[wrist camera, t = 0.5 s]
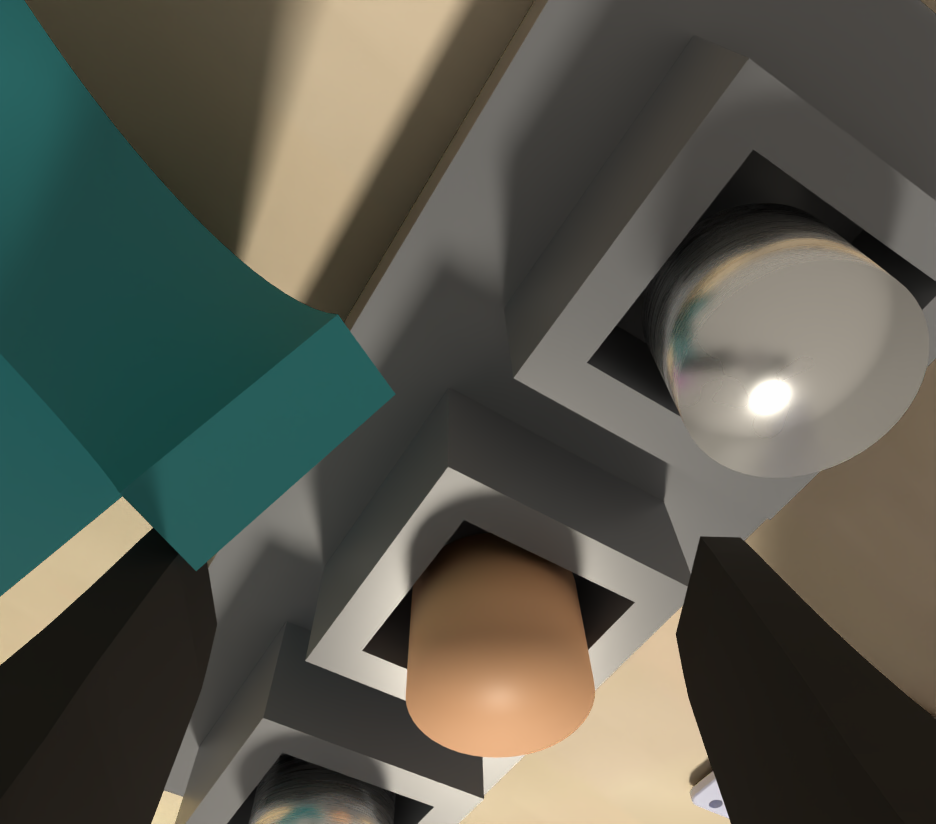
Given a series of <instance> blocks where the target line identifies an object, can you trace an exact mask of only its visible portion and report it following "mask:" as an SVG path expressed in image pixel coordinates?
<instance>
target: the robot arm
mask: <svg viewBox="0 0 936 824" xmlns="http://www.w3.org/2000/svg"><path fill="white" fill-rule="evenodd" d="M216 628H217V619H216V613H215V607H214V601H213V594H212V588H211V582H210V576H209V570H208V563H207V562H206V563H205V564H204V565H203V566H202V567H200V568H199V569H198V570H197V571H195V570H194V569H193V568H192V567H191V565H190V564H189V563H188V562H187V561H186V560H185V559H184V558H183V557H182V556H181V555H180V554H179V553H178V552H177V551H176V550H175V549H174V548H173V547H172V546H171V545H170V544H169V543H168V542H167V541H166V540H165V539H164V538H163V537H162V536H161V535H160V534H159V533H158V532H157V531H156V530H155V529H154V528H153V529H151V530H150V531H149V532H148V533H147V534H146V535H145V536H144V537H143V538H142V539H140V540H139V541H138V542H137V543H136V544H135V545H134V546H133V547H132V548H131V549H130V550H129V551H128V552H127V553H126V554H125V555H124V556H123V557H122V558H120V559H119V560H118V561H117V562H116V563H115V564H114V565H113V566H112V567H111V568H110V569H109V570H108V571H107V572H106V573H105V574H104V575H103V576H101V577H100V578H99V579H98V580H97V581H96V582H95V583H94V584H93V585H92V586H91V587H90V588H89V589H88V590H87V591H85V592H84V593H83V594H82V595H81V596H80V597H79V598H78V599H77V600H75V601H74V602H73V603H72V604H71V605H70V606H69V607H68V608H67V609H66V610H64V611H63V612H62V613H61V614H60V615H59V616H58V617H57V618H56V619H55V620H53V621H52V622H51V623H50V624H49V625H48V626H47V627H45V628H44V629H43V630H42V631H41V632H40V633H39V634H37V635H36V636H35V637H34V638H32V639H31V640H30V641H29V642H28V643H26V644H25V645H24V646H23V647H22V648H20V649H19V650H18V651H17V652H16V653H14V654H13V655H12V656H11V657H10V658H8V659H7V660H6V661H5V662H4V663H2V664H1V665H0V824H151V822H152V820H153V817H154V815H155V812H156V809H157V807H158V804H159V801H160V799H161V796H162V793H163V791H164V788H165V786H166V783H167V780H168V778H169V775H170V772H171V770H172V767H173V765H174V762H175V759H176V757H177V754H178V751H179V749H180V746H181V744H182V741H183V738H184V736H185V733H186V730H187V728H188V725H189V722H190V720H191V717H192V714H193V711H194V709H195V706H196V703H197V701H198V698H199V695H200V692H201V690H202V686H203V682H204V678H205V674H206V670H207V666H208V662H209V658H210V654H211V650H212V645H213V641H214V637H215V632H216ZM676 638H677V643H678V648H679V654H680V659H681V664H682V669H683V674H684V679H685V683H686V688H687V693H688V697H689V700H690V703H691V707H692V710H693V713H694V716H695V719H696V722H697V725H698V728H699V731H700V734H701V737H702V740H703V743H704V746H705V749H706V752H707V755H708V758H709V761H710V763H711V766H712V769H713V771H712V772H711V773H709V774H708V775H707V776H706V777H705V778H703V779H702V780H701V781H700V782H698V783H697V784H696V785H695V786H694V787H693V788H692V789H691V790H690V795H691V799H692V802H693V804H695V805H697V806H699V807H701V808H704V809H706V810H709V811H711V812H714V813H716V814H719V815H721V816H724V817H726V818H729V819H730V822H731V824H936V718H935V717H933V716H932V715H931V714H929V713H928V712H927V711H926V710H924V709H923V708H922V707H921V706H919V705H918V704H917V703H916V702H914V701H913V700H912V699H911V698H910V697H908V696H907V695H906V694H905V693H904V692H902V691H901V690H900V689H899V688H898V687H897V686H896V685H894V684H893V683H892V682H891V681H890V680H889V679H887V678H886V677H885V676H884V675H883V674H882V673H881V672H879V671H878V670H877V669H876V668H875V667H874V666H872V665H871V664H870V663H869V662H868V661H867V660H866V659H865V658H863V657H862V656H861V655H860V654H859V653H858V652H857V651H856V650H855V649H854V648H853V647H851V646H850V645H849V644H848V643H847V642H846V641H845V640H844V639H843V638H842V637H841V636H840V635H839V634H838V633H836V632H835V631H834V630H833V629H832V628H831V627H830V626H829V625H828V624H827V623H826V622H825V621H824V620H823V619H822V618H821V617H820V616H819V615H818V614H817V613H816V612H815V611H814V610H813V609H812V608H811V607H810V606H809V605H808V604H807V603H806V602H804V601H803V600H802V599H801V597H800V596H799V595H798V594H797V593H796V592H795V591H794V590H793V589H792V588H791V587H790V586H789V585H788V584H787V583H786V582H785V581H784V580H783V579H782V578H781V577H780V576H779V575H778V574H777V573H776V572H775V571H774V570H773V569H772V568H771V567H770V566H769V565H768V564H767V563H766V562H765V561H764V560H763V559H762V558H761V557H760V556H759V555H758V554H757V553H756V552H755V551H754V550H753V549H752V548H751V547H750V546H749V545H748V544H747V543H746V542H745V541H744V540H743V539H742V538H740V537H707V536H700V539H699V543H698V547H697V551H696V555H695V559H694V563H693V567H692V571H691V575H690V579H689V583H688V587H687V591H686V595H685V599H684V603H683V607H682V611H681V615H680V619H679V624H678V628H677V632H676Z"/></svg>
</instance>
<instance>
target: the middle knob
mask: <svg viewBox="0 0 936 824" xmlns="http://www.w3.org/2000/svg"><path fill="white" fill-rule="evenodd" d="M594 698H595V685H594V679H593V673H592V668H591V663H590V657H589V652H588V647H587V641H586V636H585V631H584V625H583V620H582V615H581V609H580V604H579V599H578V593H577V588H576V583H575V579H574V576H573V573H572V572H571V571H569V570H567V569H565V568H563V567H561V566H559V565H557V564H554V563H552V562H550V561H548V560H546V559H544V558H542V557H540V556H538V555H536V554H534V553H532V552H529V551H527V550H525V549H523V548H521V547H519V546H517V545H515V544H513V543H511V542H509V541H507V540H505V539H502V538H500V537H498V536H496V535H494V534H492V533H482V534H475V535H471V536H467V537H464V538H461V539H458V540H455V541H453V542H451V543H449V544H447V545H445V546H444V547H443V548H442V549H441V550H440V552H439V553H438V554H437V555H436V557H435V558H434V559H433V561H432V562H431V563H430V564H429V566H428V567H427V568H426V569H425V571H424V572H423V573H422V575H421V576H420V577H419V578H418V580H417V581H416V582H415V584H414V585H413V590H412V603H411V619H410V635H409V650H408V666H407V682H406V705H407V708H408V712H409V714H410V716H411V718H412V720H413V721H414V723H415V724H416V725H417V727H418V728H419V729H420V730H421V731H422V732H423V733H424V734H425V735H426V736H428V737H429V738H430V739H432V740H433V741H435V742H437V743H438V744H440V745H442V746H444V747H446V748H449V749H451V750H454V751H457V752H460V753H464V754H468V755H472V756H480V757H493V758H500V757H514V756H521V755H526V754H530V753H534V752H537V751H540V750H543V749H546V748H548V747H551V746H553V745H555V744H557V743H558V742H560V741H562V740H563V739H565V738H567V737H568V736H570V735H571V734H572V733H573V732H574V731H575V730H577V729H578V728H579V726H580V725H581V724H582V723H583V722H584V721H585V719H586V718H587V716H588V715H589V713H590V711H591V708H592V706H593V702H594Z"/></svg>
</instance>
